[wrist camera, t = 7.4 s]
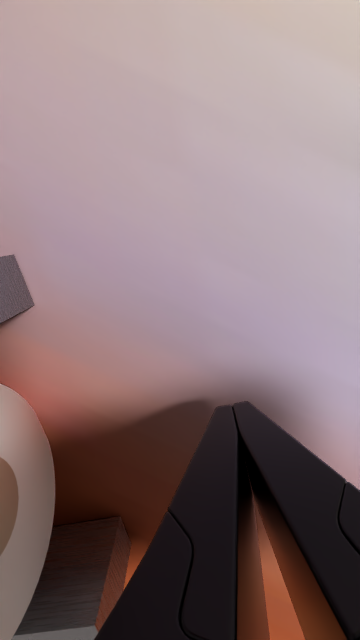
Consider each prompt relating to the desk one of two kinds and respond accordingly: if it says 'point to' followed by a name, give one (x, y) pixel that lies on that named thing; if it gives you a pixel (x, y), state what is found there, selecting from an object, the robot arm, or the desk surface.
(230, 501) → the robot arm
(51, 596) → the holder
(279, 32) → the desk surface
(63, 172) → the desk surface
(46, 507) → the roll
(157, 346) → the desk surface
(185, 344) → the desk surface
